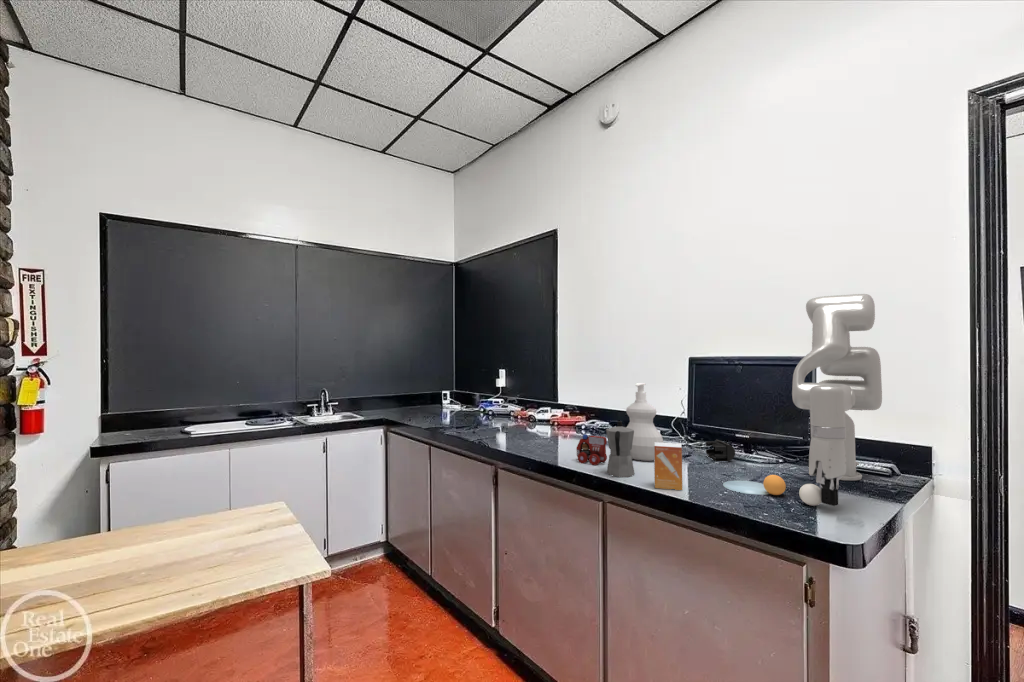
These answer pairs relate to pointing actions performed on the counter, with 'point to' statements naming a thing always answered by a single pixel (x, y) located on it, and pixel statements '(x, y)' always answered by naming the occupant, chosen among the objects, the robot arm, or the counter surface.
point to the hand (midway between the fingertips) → (829, 503)
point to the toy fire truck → (592, 449)
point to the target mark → (746, 487)
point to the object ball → (774, 485)
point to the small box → (668, 465)
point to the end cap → (720, 451)
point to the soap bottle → (642, 427)
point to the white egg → (810, 494)
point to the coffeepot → (620, 451)
